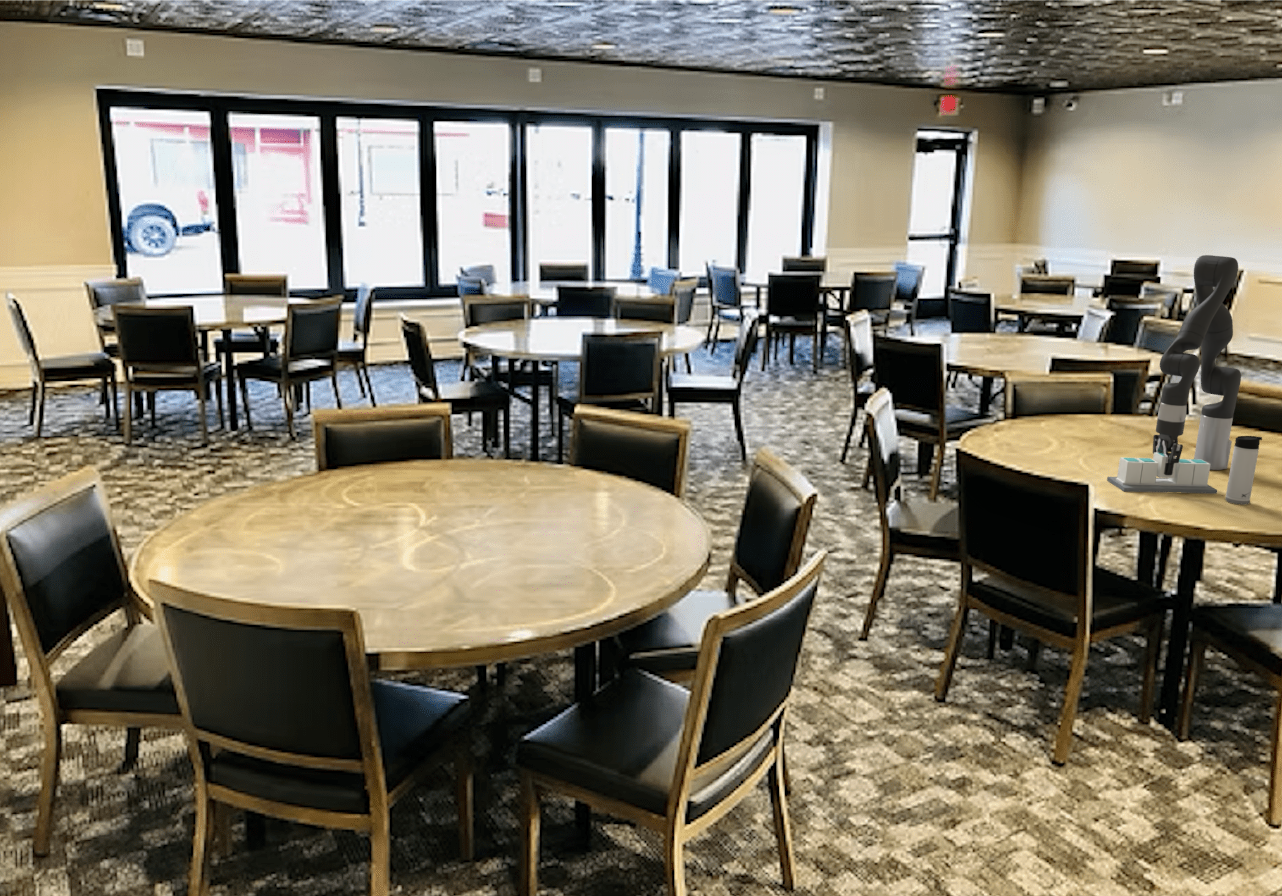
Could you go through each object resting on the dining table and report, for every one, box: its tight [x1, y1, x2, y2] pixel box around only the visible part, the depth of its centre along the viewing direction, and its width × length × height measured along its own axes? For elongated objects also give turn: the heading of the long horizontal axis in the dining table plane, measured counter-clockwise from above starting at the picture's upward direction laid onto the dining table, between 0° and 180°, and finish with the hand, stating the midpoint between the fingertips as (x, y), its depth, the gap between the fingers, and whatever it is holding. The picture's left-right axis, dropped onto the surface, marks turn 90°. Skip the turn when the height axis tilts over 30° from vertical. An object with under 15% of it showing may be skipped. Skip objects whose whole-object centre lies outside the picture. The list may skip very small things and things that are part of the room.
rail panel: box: [1106, 457, 1218, 495], centre depth 322 cm, size 28×12×8 cm, turn 90°
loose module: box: [1152, 452, 1176, 478], centre depth 321 cm, size 4×6×7 cm
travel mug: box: [1224, 435, 1263, 506], centre depth 307 cm, size 6×7×20 cm
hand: (1163, 472), depth 322 cm, fingers closed on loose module, 5 cm apart
